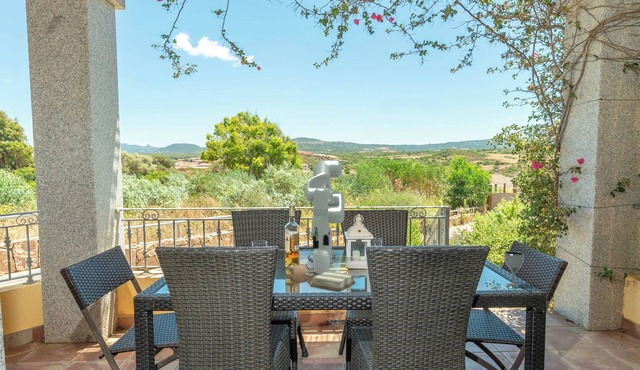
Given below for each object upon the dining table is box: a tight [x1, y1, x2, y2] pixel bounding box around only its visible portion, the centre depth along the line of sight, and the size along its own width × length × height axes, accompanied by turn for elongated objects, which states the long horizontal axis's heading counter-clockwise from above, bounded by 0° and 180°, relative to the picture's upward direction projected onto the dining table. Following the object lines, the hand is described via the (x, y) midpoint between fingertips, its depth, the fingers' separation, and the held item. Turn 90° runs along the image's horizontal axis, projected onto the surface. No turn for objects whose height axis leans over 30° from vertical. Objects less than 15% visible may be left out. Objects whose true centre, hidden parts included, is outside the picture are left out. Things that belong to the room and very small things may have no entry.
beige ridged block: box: [310, 270, 356, 293], centre depth 194 cm, size 15×15×4 cm
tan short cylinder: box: [293, 264, 307, 283], centre depth 201 cm, size 6×6×7 cm
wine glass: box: [504, 250, 525, 288], centre depth 191 cm, size 8×8×15 cm
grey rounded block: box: [312, 249, 331, 275], centre depth 213 cm, size 10×4×12 cm, turn 39°
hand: (321, 246), depth 212 cm, fingers open, 9 cm apart
